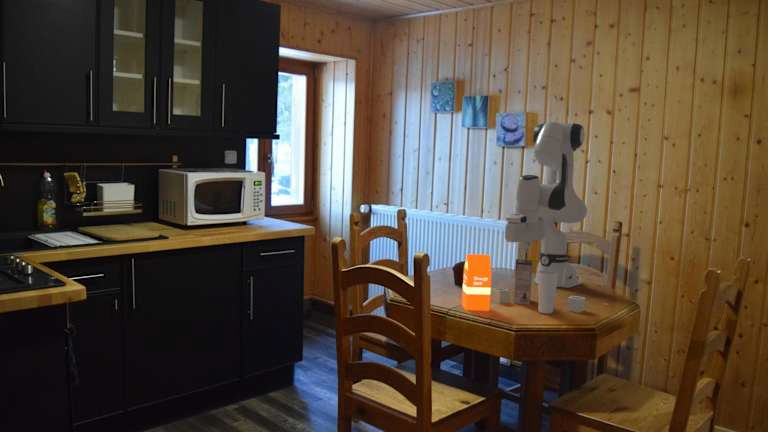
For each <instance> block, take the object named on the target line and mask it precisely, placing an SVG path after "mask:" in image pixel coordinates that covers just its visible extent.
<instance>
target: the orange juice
mask: <svg viewBox="0 0 768 432" xmlns="http://www.w3.org/2000/svg"><path fill="white" fill-rule="evenodd" d="M464 261H465V265H464V276H463V287H462V296H461V306H462V307H463V308H464V310H465V311H486V312H487V311H490V303H491V292H492V287H491V285H492V273H493V272H492V264H491V255H490V254H471V253H470V254H466V257H465V260H464Z"/></svg>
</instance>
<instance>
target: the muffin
mask: <svg viewBox="0 0 768 432" xmlns="http://www.w3.org/2000/svg"><path fill="white" fill-rule="evenodd" d="M465 261H466V260H464V261H459V262H456V263H455V264H454V265H453V266H452V268H451V270H452V271H453V280H454V285H455V286H457V287H462V288H463V276H464V265H465Z"/></svg>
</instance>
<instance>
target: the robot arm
mask: <svg viewBox="0 0 768 432" xmlns="http://www.w3.org/2000/svg"><path fill="white" fill-rule="evenodd" d="M585 137H586V133H585V129H584V127H583V125H582V124H581V123H580V124H579V123H576V122H575V123H574V122H573V123H569V122H556V121H548V122H546V123H540V124H537V125H536V126H535V127H534V129H533V133H532V142H533V143H534V147H533V156H534V158H535V160H537V162H539V164H541V165H543V166H545V167H547V171H546V184H545V183H541V180H540V177H539V176H538V175H535V174H525V175H522V176H520V177H519V179H518V183H517V189H516V206H515V211H514V212H512V213H511V214H508V215H507V216H506V219H505V221H506V225H505V231H504V239H505V241H506V242H508V243H518V245H519V247H520V253H522V254H525V253H526V254H527V253H529V252H530V248H531V246H532V244H533V243H532V242H535V241H536V242H537V241H541V242H540V243H541V246H540V247H541V248H540V252H539V256H538V257H539V262H538V264H537V268H536V273H535V275H536V276H535V277H534V278H533V280H534V282H535V284H537V285H538V275H539V271H553V272H557V273H558V274H557V287H556V288H565V289H566V288H567V289H569V288H570V289H571V288H573V287H576V286H578V285H582V284H583V281H582V280H579V279H578V271H577V269H576V268H575V267H574V266H573V265H572V264H571V263H570V261H569V260H570V259H572V258H573V254H572V253H567V249H568V236H567V234H565V232H563V231H562V230H560V229H558V227H556V224H555V223H563V224H575V223H576V224H577V223H581V222H583V221H584V220H585V218H586V217H587V213H588V207H587V205H586V203H585V202H584V201H583V200H582V199H581V197H579V196H578V195H577V193H576V191H575V188H574V181H573V180H574V179H573V178H574V177H573V176H574V166H575V165H574V162H575V156H574V152H576V151H577V149H579V148H580V147H581V146H583V143H584V141H585Z"/></svg>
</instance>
